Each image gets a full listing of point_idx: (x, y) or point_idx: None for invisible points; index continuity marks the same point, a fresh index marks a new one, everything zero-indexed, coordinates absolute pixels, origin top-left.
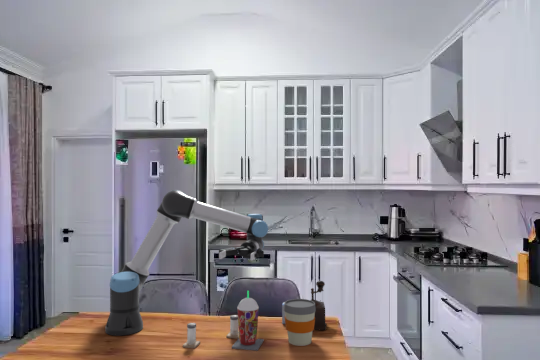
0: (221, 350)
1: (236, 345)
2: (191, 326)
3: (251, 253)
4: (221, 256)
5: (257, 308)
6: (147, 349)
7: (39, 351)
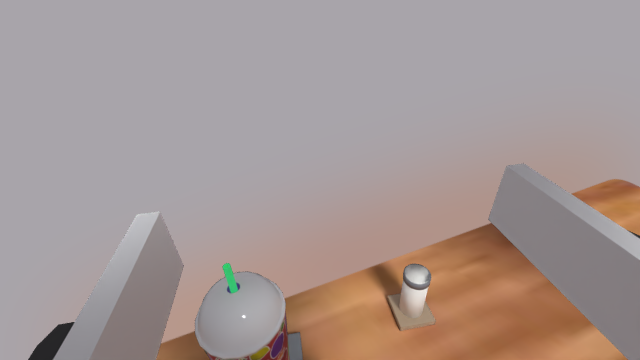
0: (319, 313)
1: (290, 345)
2: (407, 266)
3: (147, 230)
4: (508, 212)
5: (199, 309)
6: (473, 258)
7: (611, 194)
